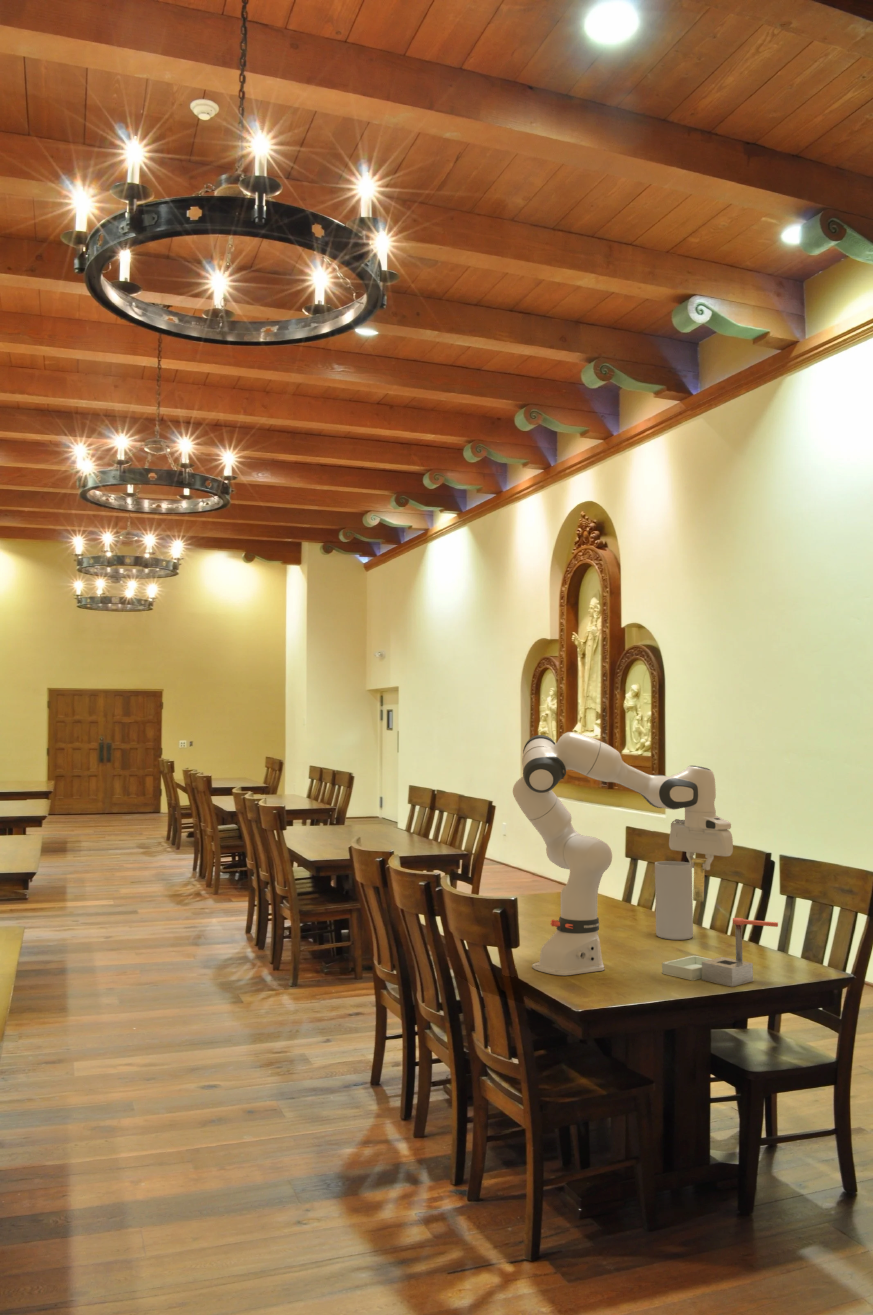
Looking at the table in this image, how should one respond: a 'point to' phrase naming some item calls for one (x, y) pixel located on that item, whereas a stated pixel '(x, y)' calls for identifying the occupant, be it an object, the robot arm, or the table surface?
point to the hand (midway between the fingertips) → (699, 869)
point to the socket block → (729, 967)
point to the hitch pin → (698, 879)
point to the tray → (685, 967)
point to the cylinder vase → (673, 900)
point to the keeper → (753, 922)
